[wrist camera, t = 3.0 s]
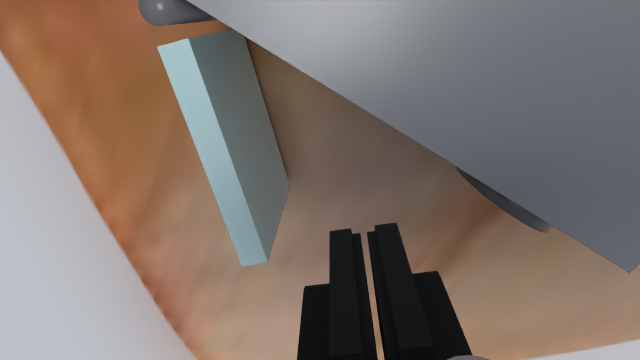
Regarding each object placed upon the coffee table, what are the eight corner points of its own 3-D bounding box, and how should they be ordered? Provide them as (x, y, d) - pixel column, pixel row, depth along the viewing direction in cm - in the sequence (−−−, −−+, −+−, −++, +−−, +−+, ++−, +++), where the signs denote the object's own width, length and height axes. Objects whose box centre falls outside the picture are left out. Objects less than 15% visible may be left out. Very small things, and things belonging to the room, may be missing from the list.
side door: (290, 186, 21) (267, 261, 15) (259, 193, 21) (224, 269, 15) (241, 27, 18) (188, 38, 12) (206, 37, 18) (136, 52, 12)
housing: (653, 45, 18) (887, 73, 10) (516, 197, 22) (615, 306, 14) (314, -210, 15) (284, -435, 8) (215, 11, 19) (122, 13, 11)
